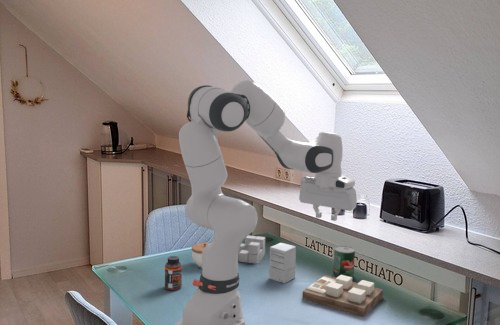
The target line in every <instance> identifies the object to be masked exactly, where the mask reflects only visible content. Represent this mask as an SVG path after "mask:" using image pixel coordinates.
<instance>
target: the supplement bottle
mask: <svg viewBox="0 0 500 325" xmlns="http://www.w3.org/2000/svg"><path fill="white" fill-rule="evenodd" d="M182 266H183V265H182V263H181V262H180V257H179V256H177V255H170V256H168V257H167V262H166V263H165V264H164V288H165V289H166V290H168V291H177V290H180V289H181V288H182V285H183V284H182V281H183V280H182V277H183V276H182V275H183V272H182V270H183V268H182Z"/></svg>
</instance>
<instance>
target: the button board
mask: <svg viewBox="0 0 500 325" xmlns="http://www.w3.org/2000/svg"><path fill="white" fill-rule="evenodd" d="M330 282H334V283H336V278H335V277H333V276H331V275H326V274H325V275H323V276H322V277H320V278H319V279H317V280H316V281H315V282H314V283H313V282H312V284H310V285H309V286H308V287H306V288H305V289H304V290H302V293H301V294H302V298H301V300H303V301H306V302H310V303H313V304H316V305H319V306H320V305H321V306H323V307H327V308H332V309H335V310H338V311H342V312H344V313H347V314H351V315H355V316H358V317H362V318H364V317H365V316H367V314H368V313H369V312H370V311H371V310H372V309H373V308H374V307H376V305H377V304H379V302H380V301H381V300H382V299H383V295H384V294H383V293H384V288H383V289H382V288H378V287H375V286H374V292H373V293H372V294H371V295H366V297H365V301H363V302H362V303H361V304H360V303H356V302H352V301H349V300H348V291H350V290H351V289H352V288H353V287H354V288H357V284H358V283H359V282H355V281H352V286H351V287H350V288H349V289H348V290H347V289H343V294H342V295H341V296H339V297H334V296H331V295H327V294H326V285H328V284H329V283H330Z"/></svg>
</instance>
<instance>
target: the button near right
mask: <svg viewBox="0 0 500 325" xmlns="http://www.w3.org/2000/svg"><path fill="white" fill-rule="evenodd" d="M365 297H366V290H362V289H358V288H354V287H353V288H352V289H351V290H350V291H348V300H349V301H352V302H356V303H360V304H361V303H362V302H363V301H365Z"/></svg>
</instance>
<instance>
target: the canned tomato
mask: <svg viewBox="0 0 500 325" xmlns="http://www.w3.org/2000/svg"><path fill="white" fill-rule="evenodd" d="M333 250H334V252H333V270H332V273H333V274H332V277H335V278H337V277H338V276H340V275H344V276H349V277H352V280H353V279H354V278H353V277H355V276H354V275H355V258H356V257H355V255H356V249H355V248H354V247H351V246H349V245H348V246H347V245H337V246H334V248H333Z"/></svg>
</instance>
